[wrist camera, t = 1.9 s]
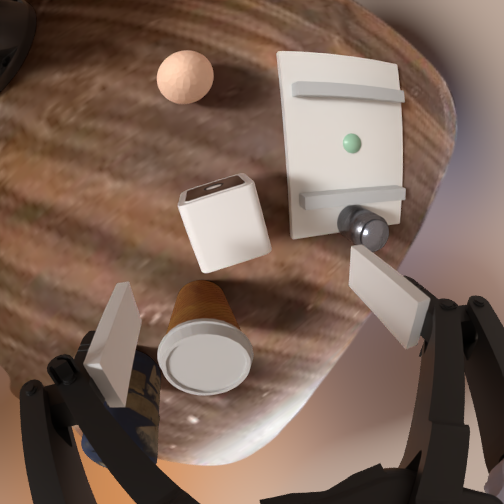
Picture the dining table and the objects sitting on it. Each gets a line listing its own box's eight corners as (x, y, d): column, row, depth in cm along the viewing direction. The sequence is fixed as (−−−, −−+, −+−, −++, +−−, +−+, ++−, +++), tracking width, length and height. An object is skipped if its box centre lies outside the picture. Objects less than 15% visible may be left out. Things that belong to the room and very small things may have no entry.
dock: (276, 53, 26) (283, 46, 23) (392, 65, 28) (406, 62, 26) (290, 236, 35) (298, 245, 32) (395, 221, 37) (408, 228, 35)
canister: (168, 384, 42) (168, 483, 25) (115, 387, 40) (101, 480, 24) (151, 340, 38) (140, 451, 21) (93, 345, 36) (63, 446, 20)
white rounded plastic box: (237, 167, 31) (255, 182, 22) (254, 225, 34) (276, 260, 25) (182, 184, 30) (176, 207, 21) (202, 241, 33) (205, 283, 24)
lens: (336, 206, 34) (359, 220, 29) (367, 202, 34) (392, 214, 29) (337, 239, 35) (358, 258, 30) (366, 234, 36) (390, 251, 31)
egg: (152, 82, 25) (137, 65, 18) (192, 53, 25) (192, 27, 17) (181, 117, 28) (175, 110, 20) (221, 88, 27) (229, 72, 20)
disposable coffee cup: (240, 268, 36) (261, 328, 25) (235, 330, 39) (250, 395, 28) (162, 267, 34) (151, 328, 23) (166, 330, 37) (161, 397, 26)
